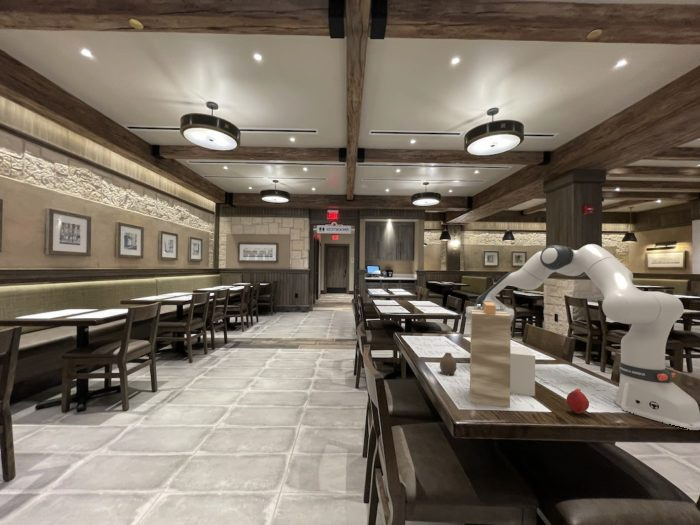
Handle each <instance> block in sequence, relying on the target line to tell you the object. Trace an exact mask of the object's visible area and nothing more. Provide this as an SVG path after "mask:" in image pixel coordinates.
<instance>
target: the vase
mask: <svg viewBox="0 0 700 525" xmlns="http://www.w3.org/2000/svg"><path fill="white" fill-rule="evenodd" d="M439 368H440V371H441V373H442V374H443V373H444V374H443V375H446V374H452V375H454V374H455V373H456V370H457V361H456V359H455V358H454V356H453V355H452V353H451V352H445V353H444V355H443V356H442V357H441V359H440V361H439Z"/></svg>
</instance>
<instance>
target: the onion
mask: <svg viewBox="0 0 700 525" xmlns="http://www.w3.org/2000/svg"><path fill="white" fill-rule="evenodd" d="M566 404H567V406H568V408H569V409H570V410H572V411H573V413H575V414H577V415H580V414H582V413H584V412H586V411H587V410H588V409H589V408H590V401H589V399H588V397H587V396H586V395H585V394H584V393H583V392H582V391H581V389H580V387H577V388H575V390H572V391H570V392H569V393H568V394H567V396H566Z"/></svg>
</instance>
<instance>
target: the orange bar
mask: <svg viewBox="0 0 700 525" xmlns="http://www.w3.org/2000/svg"><path fill="white" fill-rule="evenodd" d="M482 308H483V310H484V312H485V313H486V314H494V315H496V306H495V305H494V304H493V303H492V302H491V301H482Z"/></svg>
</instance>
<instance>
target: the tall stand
mask: <svg viewBox="0 0 700 525" xmlns="http://www.w3.org/2000/svg"><path fill="white" fill-rule="evenodd" d="M511 323H512V321H511V316H510V315H509V314H508V313H507V312H502V311H496V315H494V314H486V313H485V312H484V310H471V319H470V347H469V348H470V350H469V351H470V352H469V353H470V354H469V355H470V356H469V357H470V360H469V363H470V364H469V368H470V369H469V372H470V373H469V394H470V402H472V403H477V404H483V405H484V404H485V405H490V406H497V407H498V406H499V407H503V408H511V393H510V346H511V342H512V341H511V336H512V335H511V333H512V332H511V331H512V329H511V328H512V327H511V326H512V325H511Z"/></svg>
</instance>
